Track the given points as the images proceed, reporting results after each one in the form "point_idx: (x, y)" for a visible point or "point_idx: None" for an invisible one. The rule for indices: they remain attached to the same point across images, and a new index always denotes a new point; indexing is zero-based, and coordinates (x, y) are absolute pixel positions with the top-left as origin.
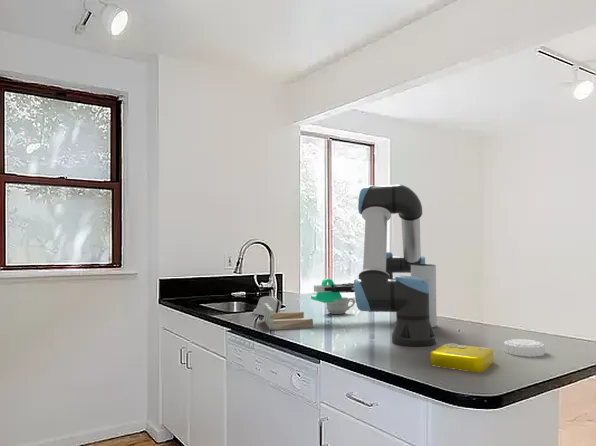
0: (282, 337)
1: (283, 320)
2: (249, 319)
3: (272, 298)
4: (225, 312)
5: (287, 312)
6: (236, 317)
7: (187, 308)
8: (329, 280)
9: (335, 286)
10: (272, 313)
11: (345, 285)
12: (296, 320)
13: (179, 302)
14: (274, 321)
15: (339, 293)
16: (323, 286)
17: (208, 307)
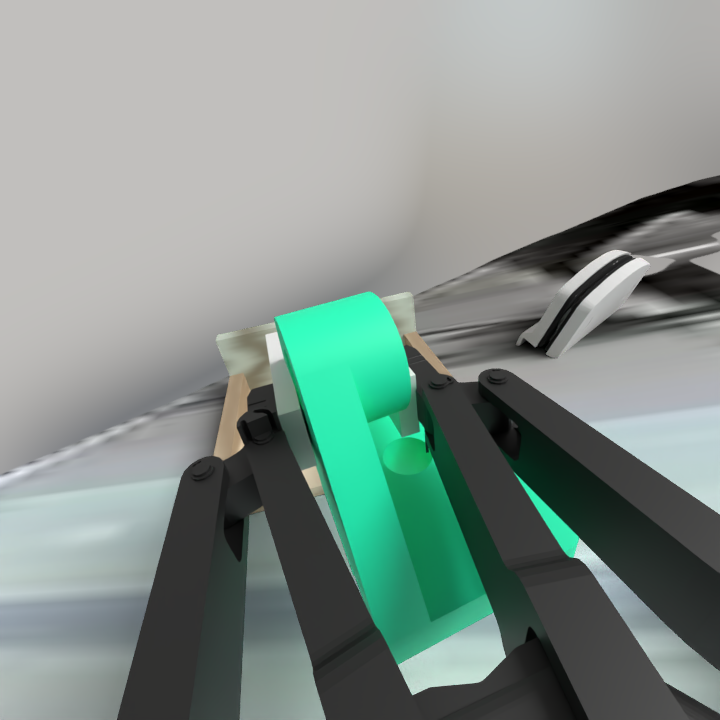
0: (86, 444)
1: (229, 396)
2: (444, 320)
3: (577, 274)
4: (558, 264)
5: (446, 371)
6: (475, 295)
7: (583, 223)
8: (283, 341)
9: (190, 468)
10: (220, 350)
11: (329, 654)
12: (219, 433)
13: (667, 197)
14: (230, 378)
15: (365, 589)
16: (270, 367)
17: (627, 231)
